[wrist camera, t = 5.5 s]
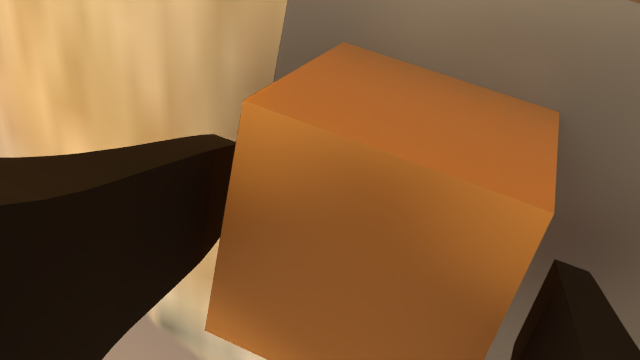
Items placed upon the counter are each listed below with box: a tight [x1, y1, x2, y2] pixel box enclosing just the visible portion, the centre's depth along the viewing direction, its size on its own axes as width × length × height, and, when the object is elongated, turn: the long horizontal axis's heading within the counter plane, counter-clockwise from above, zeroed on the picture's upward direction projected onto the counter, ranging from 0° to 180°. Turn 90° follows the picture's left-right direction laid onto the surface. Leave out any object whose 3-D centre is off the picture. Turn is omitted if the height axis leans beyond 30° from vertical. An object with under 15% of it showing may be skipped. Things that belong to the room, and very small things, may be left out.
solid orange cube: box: [205, 42, 560, 360], centre depth 12 cm, size 5×5×5 cm
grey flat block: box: [273, 0, 640, 360], centre depth 13 cm, size 14×10×5 cm
